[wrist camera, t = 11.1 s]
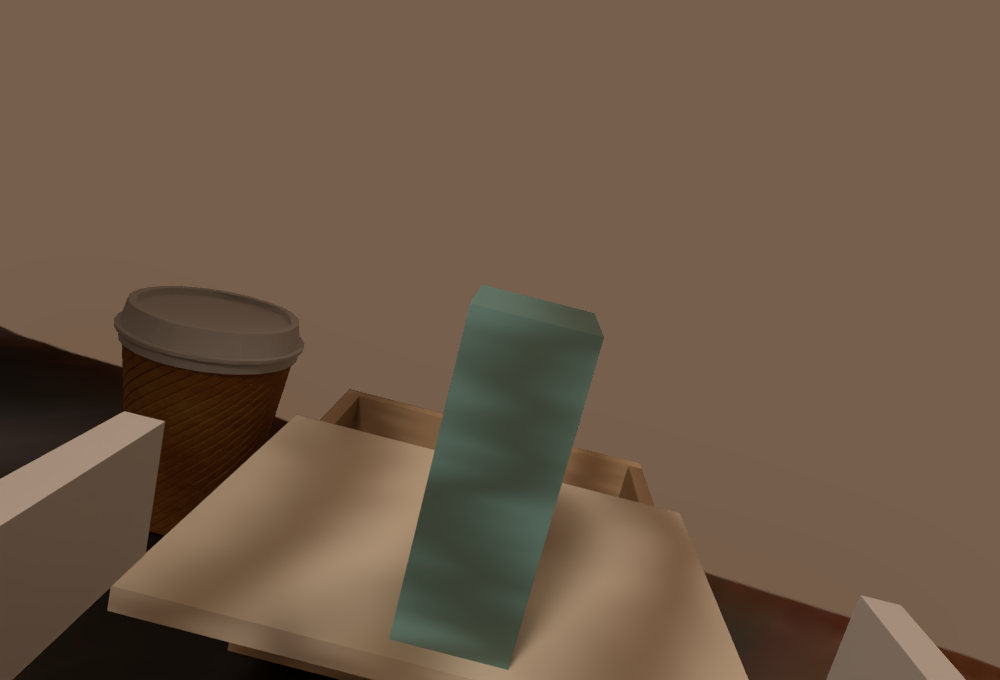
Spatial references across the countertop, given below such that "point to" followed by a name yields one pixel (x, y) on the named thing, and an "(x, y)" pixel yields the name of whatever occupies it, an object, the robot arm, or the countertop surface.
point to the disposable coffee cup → (203, 384)
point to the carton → (423, 431)
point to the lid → (446, 538)
